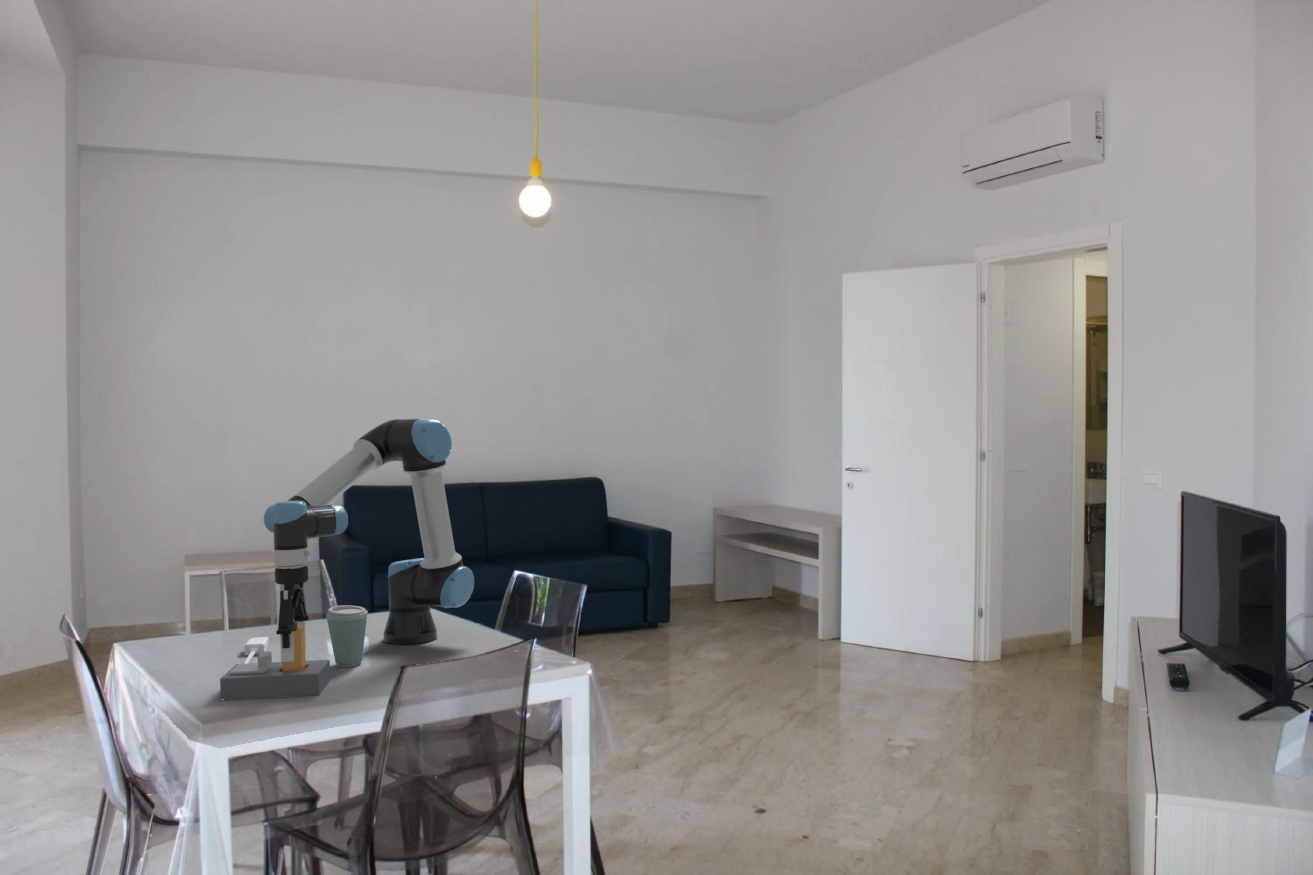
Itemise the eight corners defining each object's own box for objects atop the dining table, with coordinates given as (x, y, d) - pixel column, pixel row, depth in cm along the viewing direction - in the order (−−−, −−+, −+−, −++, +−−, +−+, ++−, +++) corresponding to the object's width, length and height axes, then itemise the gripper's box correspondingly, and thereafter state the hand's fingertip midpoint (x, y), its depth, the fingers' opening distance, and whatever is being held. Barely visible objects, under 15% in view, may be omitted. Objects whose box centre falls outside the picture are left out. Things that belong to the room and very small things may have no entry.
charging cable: (230, 679, 261) (229, 666, 261) (251, 646, 293) (251, 634, 293) (251, 678, 263) (250, 665, 262) (270, 645, 294) (269, 633, 294)
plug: (286, 678, 249) (285, 620, 249) (306, 677, 250) (304, 619, 249) (282, 682, 245) (280, 624, 244) (302, 681, 245) (300, 623, 245)
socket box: (330, 679, 255) (329, 659, 255) (319, 694, 241) (318, 673, 241) (237, 684, 252) (236, 663, 252) (220, 700, 238) (220, 678, 238)
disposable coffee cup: (375, 659, 275) (373, 603, 275) (361, 669, 264) (359, 611, 264) (336, 659, 276) (334, 603, 275) (320, 669, 265) (319, 611, 265)
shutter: (273, 664, 250) (272, 649, 250) (265, 672, 242) (264, 657, 242) (238, 666, 249) (238, 651, 249) (229, 674, 241) (229, 659, 241)
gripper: (296, 573, 234) (298, 666, 235) (317, 558, 259) (320, 642, 260) (262, 574, 233) (264, 667, 234) (286, 559, 258) (289, 643, 259)
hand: (293, 654), depth 247 cm, fingers open, 13 cm apart
